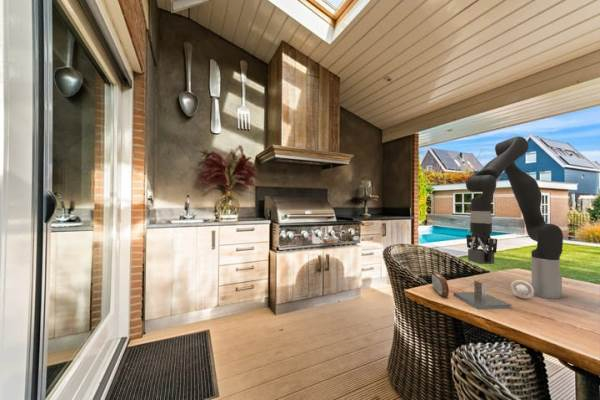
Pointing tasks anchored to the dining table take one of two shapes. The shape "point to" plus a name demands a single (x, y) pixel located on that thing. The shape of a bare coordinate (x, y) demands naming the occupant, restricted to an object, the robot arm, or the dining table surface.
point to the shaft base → (481, 303)
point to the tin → (440, 284)
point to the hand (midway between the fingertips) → (480, 260)
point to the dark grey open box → (479, 256)
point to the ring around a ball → (522, 289)
